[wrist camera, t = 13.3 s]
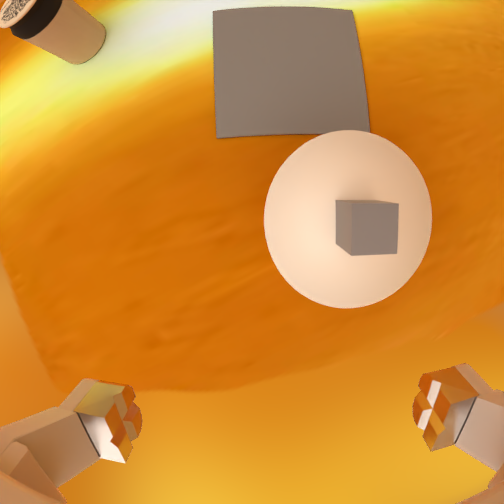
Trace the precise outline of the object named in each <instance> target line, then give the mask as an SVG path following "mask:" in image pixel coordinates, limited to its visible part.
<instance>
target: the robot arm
mask: <svg viewBox="0 0 504 504" xmlns="http://www.w3.org/2000/svg"><path fill="white" fill-rule="evenodd" d="M418 386H419V388H420V389H421V391H420V392H419V393H418V395H417V396H416V397H415V399H414V403H413V417H414V421H415V423H416V425H417V427H419V428H421V429H423V430H424V434H423V438H424V440H425V442H426V444H427V446H428V447H429V449H430V451H434V450H438V449H441V448H444V447H448V446H451V445H454V444H455V446H456V447H458V448H459V449H461V450H463V451H464V452H466V453H467V454H469V455H471V456H472V457H474V458H475V459H477V460H479V461H480V462H482V463H484V464H485V465H487V466H488V467H490V468H492V469H493V470H495V471H496V472H497V473H496V474H495V476H494V477H493V478H492V480H491V481H490V483H489V485H488V488H489V489H487V490H485V491H483V492H481V493H479V494H477V495H475V496H472V497H470V498H468V499H466V500H464V501H461V502H459V503H457V504H504V392H503V391H500V390H494V391H493V389H491V387H489V385H488V384H487V383H486V382H485V381H484V380H483V379H482V378H481V377H480V376H479V375H478V374H477V373H476V372H475V371H474V370H473V369H472V368H471V366H470V365H468V364H466V363H464V364H460V365H456V366H453V367H451V368H447V369H443V370H439V371H434V372H430V373H425V374H423V375H422V377H421V378H420V381H419V385H418ZM134 398H135V393H134V391H133V388H132V387H131V386H129V385H126V384H119V383H113V382H107V381H102V380H100V381H99V380H95V379H89V378H85V379H82V381H81V382H80V383H79V384H78V385H77V386H76V388H75V389H74V390H73V391H72V392H71V393H70V394H69V396H68V397H67V398H66V399H65V400H64V402H63V403H62V404H61V405H60V406H59V407H52V408H50V409H47V410H45V411H42V412H40V413H37V414H35V415H32V416H30V417H27V418H24V419H22V420H19V421H16V422H14V423H11V424H8V425H5V426H3V427H0V504H66V503H67V502H66V499H65V497H64V496H63V495H62V494H61V493H60V492H59V490H58V489H57V487H59V486H61V485H62V484H64V483H65V482H67V481H68V480H70V479H71V478H73V477H74V476H76V475H77V474H79V473H80V472H82V471H83V470H85V469H86V468H88V467H89V466H91V465H92V464H94V463H95V462H96V461H98V460H99V459H100V458H104V459H108V460H113V461H117V462H122V463H126V461H127V459H128V457H129V455H130V453H131V451H132V449H133V446H132V444H131V441H132V440H134V439H136V438H137V437H138V436H139V433H140V432H141V427H142V415H141V412H140V408H139V407H138V406H137V405H136V404H135V403H134V402H133V400H134Z"/></svg>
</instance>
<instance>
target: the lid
mask: <svg viewBox="0 0 504 504" xmlns="http://www.w3.org/2000/svg"><path fill="white" fill-rule="evenodd" d="M431 227H432V208H431V201H430V197H429V193H428V189H427V186H426V184H425V181H424V179H423V177H422V175H421V173H420V172H419V170H418V168H417V167H416V165H415V164H414V163H413V161H412V160H411V159H410V158H409V157H408V156H407V155H406V154H405V152H404V151H402V150H401V149H400V148H399V147H397V146H396V145H395V144H393V143H392V142H390V141H388V140H387V139H385V138H382V137H380V136H378V135H375V134H372V133H368V132H364V131H357V130H341V131H335V132H330V133H326V134H323V135H320V136H318V137H316V138H314V139H312V140H310V141H308V142H306V143H305V144H303V145H302V146H301V147H299V148H298V149H297V150H296V151H295V152H293V153H292V154H291V155H290V156H289V157H288V158H287V160H286V161H285V162H284V163H283V164H282V166H281V167H280V169H279V170H278V172H277V173H276V175H275V177H274V179H273V181H272V183H271V186H270V188H269V191H268V195H267V198H266V204H265V210H264V228H265V237H266V241H267V245H268V249H269V251H270V254H271V257H272V259H273V261H274V263H275V265H276V267H277V269H278V270H279V272H280V273H281V274H282V276H283V277H284V278H285V280H286V281H287V282H288V283H289V284H290V285H291V286H292V287H293V288H294V289H296V290H297V291H298V292H299V293H301V294H302V295H304V296H305V297H307V298H309V299H310V300H313V301H315V302H317V303H320V304H323V305H326V306H330V307H337V308H357V307H363V306H367V305H370V304H374V303H376V302H378V301H381V300H383V299H385V298H387V297H388V296H390V295H392V294H393V293H394V292H396V291H397V290H398V289H400V288H401V287H402V286H403V285H404V284H405V283H406V282H407V281H408V280H409V279H410V277H411V276H412V275H413V274H414V272H415V271H416V269H417V268H418V266H419V265H420V263H421V261H422V259H423V257H424V255H425V252H426V249H427V246H428V243H429V239H430V234H431Z"/></svg>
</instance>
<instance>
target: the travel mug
mask: <svg viewBox="0 0 504 504" xmlns="http://www.w3.org/2000/svg"><path fill="white" fill-rule="evenodd" d="M0 27H2V28H7V27H9V28H10V29H11V31H12V33H13V35H15V36H17V37H19V38H21V39H23V40H25V41H27V42H30V43H32V44H34V45H36V46H38V47H40V48H42V49H44V50H46V51H48V52H50V53H52V54H54V55H56V56H58V57H60V58H62V59H64V60H66V61H68V62H69V63H72V64H80V63H83V62H85V61H87V60H89V59H90V58H92V57H93V56H94V55H95V54H96V53H97V52H98V50H99V49H100V48H101V46H102V44H103V42H104V40H105V34H106V32H105V28H104V26H103V25H102V24H101V23H99V22H98V21H97V20H96V19H95V18H94V17H92V16H91V15H90V14H89V13H88V12H86V11H85V10H84V9H83V8H82V7H80V6H79V5H78V4H77V3H75V2H74V1H73V0H6V2H5V3H4V5H3V7H2V9H1V11H0Z"/></svg>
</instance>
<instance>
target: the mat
mask: <svg viewBox="0 0 504 504" xmlns="http://www.w3.org/2000/svg"><path fill="white" fill-rule="evenodd" d="M213 49H214V84H215V111H216V134H217V138H229V137H243V136H261V135H289V134H326V133H330V132H335V131H341V130H357V131H364V132H368V133H370V125H369V114H368V105H367V96H366V88H365V80H364V73H363V66H362V60H361V54H360V48H359V42H358V37H357V31H356V26H355V21H354V17H353V12H352V10H342V9H331V8H317V7H254V8H239V9H228V10H218V11H213Z"/></svg>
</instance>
